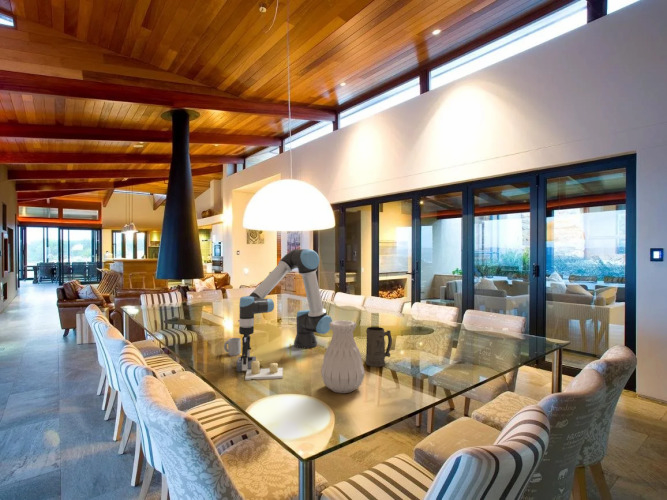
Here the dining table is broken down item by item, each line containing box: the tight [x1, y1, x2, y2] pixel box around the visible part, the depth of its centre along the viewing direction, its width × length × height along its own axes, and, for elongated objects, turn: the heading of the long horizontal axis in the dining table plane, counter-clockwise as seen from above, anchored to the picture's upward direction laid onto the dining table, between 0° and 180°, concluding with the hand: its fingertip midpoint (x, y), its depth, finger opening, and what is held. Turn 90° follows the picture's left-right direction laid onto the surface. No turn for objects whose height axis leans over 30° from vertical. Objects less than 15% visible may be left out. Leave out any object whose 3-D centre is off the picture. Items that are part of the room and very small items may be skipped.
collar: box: [236, 355, 257, 373], centre depth 190 cm, size 9×9×5 cm
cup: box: [223, 337, 242, 357], centre depth 216 cm, size 7×10×9 cm
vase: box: [320, 319, 366, 394], centre depth 163 cm, size 20×20×30 cm
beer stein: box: [365, 326, 393, 368], centre depth 199 cm, size 15×11×20 cm
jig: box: [244, 360, 284, 381], centre depth 180 cm, size 18×12×7 cm, turn 98°
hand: (245, 366), depth 190 cm, fingers open, 13 cm apart
